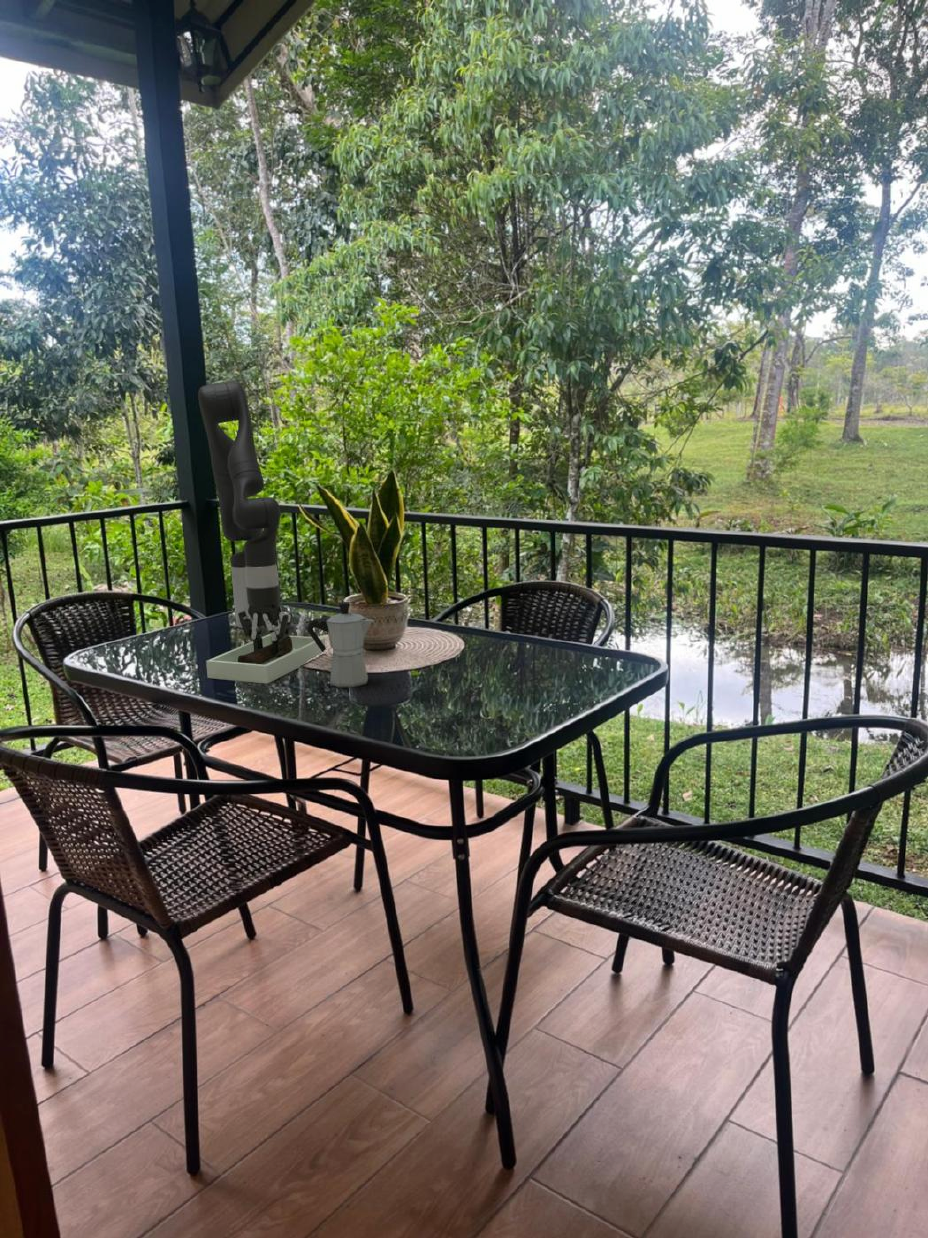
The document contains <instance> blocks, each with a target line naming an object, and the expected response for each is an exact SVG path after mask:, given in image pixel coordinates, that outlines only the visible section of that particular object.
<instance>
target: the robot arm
mask: <svg viewBox="0 0 928 1238" xmlns="http://www.w3.org/2000/svg"><path fill="white" fill-rule="evenodd" d="M197 394H198V395H197V396H198V404H199V409H200V413H201V416H202V420H203V421H202V422H203V424H204V428H205V432H206V437H207V441H208V442H207V443H208V448H209V454H210V459H211V468H212V474H213V478H214V481H215V482H214V483H215V487H216V491H217V495H218V496H217V497H218V501H219V511H220V513H219V514H220V521H221V528H222V533H223V536H224V539H226V540H227V541H229V542H245V543H244V545H243V548H244V549H243V550H242V551H239V552H237V553H234V554H232V555H231V556H230V569H231V579H232V580H231V581H232V591H233V592H232V593H233V601H234V602H233V604H234V615H235V624H236V625H235V626H236V628H240V629H242V630H243V633H244V635H245V637H249V638H251V640H252V641H253V646H254V651H256V650H259V649H261V648H263V642H262V638H261V637H262V634H263V630H264V628H267V631H268V633H270V634H271V636H272V639H273V641H272V645H273V655H274V656H278V655H280V654H281V652H282V639H283V638H285V637H287V636H288V635H289V634H290V629H291V626H292V619H293V614H292V612H289V613H286V612H284V611H282V609H281V608H282V607H281V605H280V603H281V593H280V581H279V572H278V567H277V556H276V542H277V541H276V540H277V535H278V529H279V524H280V520H281V507H280V505H279V503H278V501H277V500H276V498H273V497H272V496H266V497H264V496H262V497H254V496H256V495H258V494H260V493H261V492H262V491H263V490H264V488H265V482H264V477H263V473H262V471H261V467H260V464H259V463H260V462H259V460H258V456H257V452H256V445H255V437H254V431H253V424H252V420H251V413H250V408H249V403H248V398H247V394H246V391H245V389H244V387H243V385H242V383H241V382H239V381H237V380H230V381H224V382H217V383H211V384H205V385H203V386H201V387H200V388H199V389H198V393H197ZM233 421H237V423H238V427H237V432H236V435H235V437H234V439H233V438H232V437H230V436H229V435H228V434H227V433H226V432H225V431H224V429H222V427H221V425H220V424H223V423H224V424H225V423H228V422H233ZM250 497H251V498H250ZM279 619H280V620H279ZM280 622H281V623H280ZM289 636H290V635H289Z"/></svg>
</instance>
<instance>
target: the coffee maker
mask: <svg viewBox="0 0 928 1238" xmlns="http://www.w3.org/2000/svg"><path fill="white" fill-rule="evenodd" d="M350 603H351V602H349V601H342V602H339V603H338V605H339V606H338V607H339V609H340V613H338V614H335V615H332V616H330V615H322V616H321V617H320V618H313V619H310V621H309V623H308V625H307V628H306V631H307V632H308V634H309V635H310V637H312V638H313V640H314V641H315V642H316V644H317V645H318V647H319V648H320V650H321V651H322V652H323V651H324V650H325V649H327V647H326V645H325V646H324V644H323V643H322V642H321V640H320V639H319V638H320V637H319V636H318V634H317V633H316V631H315V630H314V629H315V628H316V629H318V630H321V631H324V632H327V635H328V640H329V646H330V648H331V649H333V650H332V656H331V669H330V677H329V678H330V679H329V685H330V686H334V687H337V688H355V687H359V686H363V685H367V683H368V682H369V681H368V680H369V676H368V672H367V667H366V664H365V658H364V653H363V651H362V648H363V647H364V641H365V637H366V634H367V633H368V630H369V628H370V627H371V624H372V623H373V622H375V620H374V619H370V618H367V617H365V616H364V615H362V614H358V613H352V612H350V611H349V610H350Z"/></svg>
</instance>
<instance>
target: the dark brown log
mask: <svg viewBox="0 0 928 1238" xmlns="http://www.w3.org/2000/svg"><path fill="white" fill-rule="evenodd" d="M290 636H291V635H288V636H287V637H285V638H283V639H282V652H281V654H280V655H278V656H274V655H273V645H272V644H270V645H268V646H266V647H263V648H261V649H259V650H256V651H253V652H251V653H248V654H246V655H241V656H239V657H238V663H250V664H262V663H264V662H266V661H268V660H271V659H273V658H275V657H282V656H284V655H286V654H288V653H290V652H291V651H292V650H293V647H292V640H291V638H290Z"/></svg>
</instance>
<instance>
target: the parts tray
mask: <svg viewBox="0 0 928 1238" xmlns="http://www.w3.org/2000/svg"><path fill="white" fill-rule="evenodd" d="M289 636H290V638H291V640H292V647H293V650H292V651H291V652H290V653H288V654H286V655H284V656H282V657H275V658H273V659H271V660H268V661H266V662H264V663H262V664H250V663H238V657H239V656H241V655H246V654H248V653H251V652H253V651H254V646H253V640H252V641H249V642H247V643H245V644H243V645H240V646H238V647H236V648H234V649H231V650H229V651H226V652H223V653H222V654H220V655H217V656H215V657H213V658H210V659H207V660H206V661H205V664H206V673H207V674H206V675H207V679H216V680H226V681H236V682H245V683H247V682H248V683H258V684H270V683H272V682H273V681H276V680H277V679H279V678H281V677H283V676H285V675H287V674H289V673H291V672H293V671H295V670H296V669H298V668H301V667H302V666H301V665H303V664H304V663H306V662H307V661H308V660H310V659H311V658H314V657H316V656H317V655H319V654H321V653H322V651H321V650H320V648H319V647H318V645H317V644H316V642H315V641H314V640H313V638H312V637H311V636H301V635H289ZM261 638H262V642H263V647H266V646H268V645H270V644H272V641H273V639H272V636H271V633H270V634H266V635H264V636H261ZM319 639H320V640H321V642H322V643H323V644H324V646H325V647H326V637H319ZM326 649H327V648H326ZM326 649H325V650H326ZM325 650H324V651H325ZM324 651H323V652H324ZM326 651H327V650H326ZM300 666H301V667H300ZM303 666H304V665H303Z"/></svg>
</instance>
